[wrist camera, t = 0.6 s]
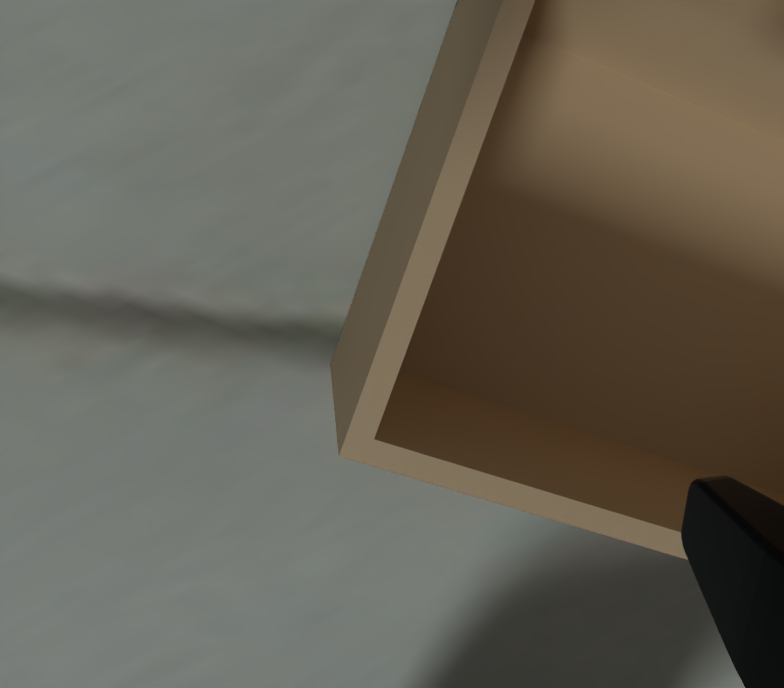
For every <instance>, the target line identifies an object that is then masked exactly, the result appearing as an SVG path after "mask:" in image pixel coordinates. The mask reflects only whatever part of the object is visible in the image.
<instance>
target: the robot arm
mask: <svg viewBox="0 0 784 688" xmlns="http://www.w3.org/2000/svg"><path fill="white" fill-rule="evenodd" d="M681 539H682V545H683V548H684V551H685V554H686V556H687V558H688V561H689V563H690V565H691V568H692V570H693V572H694V575H695V577H696V579H697V582H698V584H699V586H700V589H701V591H702V593H703V596H704V598H705V600H706V603H707V605H708V607H709V610H710V612H711V614H712V617H713V619H714V621H715V624H716V626H717V628H718V631H719V633H720V635H721V638H722V640H723V642H724V645H725V647H726V649H727V651H728V654H729V656H730V658H731V660H732V662H733V664H734V667H735V669H736V671H737V673H738V674H739V676H740V678H741V680H742V682H743V684H744V686H745V688H784V505H783V504H781V503H779V502H777V501H775V500H773V499H771V498H769V497H768V496H766V495H764V494H762V493H760V492H758V491H756V490H755V489H753V488H751V487H749V486H747V485H745V484H743V483H741V482H740V481H738V480H736V479H734V478H732V477H729V476H725V475H720V476H712V477H705V478H698V479H695V480H693V481H692V482H691V484H690V485H689V488H688V493H687V499H686V505H685V510H684V516H683V522H682V528H681Z"/></svg>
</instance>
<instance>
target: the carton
mask: <svg viewBox="0 0 784 688" xmlns="http://www.w3.org/2000/svg"><path fill="white" fill-rule="evenodd" d="M330 367H331V377H332V388H333V399H334V410H335V421H336V432H337V442H338V453H339V457H343V458H346V459H349V460H353V461H356V462H359V463H363V464H366V465H370V466H373V467H376V468H380V469H383V470H386V471H390V472H393V473H396V474H400V475H403V476H407V477H410V478H413V479H417V480H420V481H423V482H427V483H430V484H434V485H437V486H440V487H444V488H447V489H450V490H454V491H457V492H461V493H464V494H467V495H471V496H474V497H477V498H481V499H484V500H487V501H491V502H494V503H498V504H501V505H504V506H508V507H511V508H514V509H518V510H521V511H525V512H528V513H531V514H535V515H538V516H541V517H545V518H548V519H552V520H555V521H558V522H562V523H565V524H568V525H572V526H575V527H579V528H582V529H585V530H589V531H592V532H595V533H599V534H602V535H605V536H609V537H612V538H616V539H619V540H622V541H626V542H629V543H632V544H636V545H639V546H643V547H646V548H649V549H653V550H656V551H659V552H663V553H666V554H670V555H673V556H676V557H680V558H683V559H686V560H688V558H687V556H686V554H685V551H684V548H683V545H682V539H681V528H682V522H683V516H684V510H685V505H686V499H687V493H688V488H689V485H690V484H691V482H692V481H693V480H695V479H698V478H705V477H712V476H720V475H725V476H729V477H732V478H734V479H736V480H738V481H740V482H741V483H743V484H745V485H747V486H749V487H751V488H753V489H755V490H756V491H758V492H760V493H762V494H764V495H766V496H768V497H769V498H771V499H773V500H775V501H777V502H779V503H781V504H783V505H784V0H457V3H456V6H455V9H454V12H453V14H452V17H451V20H450V23H449V26H448V29H447V32H446V35H445V37H444V40H443V43H442V46H441V49H440V52H439V55H438V57H437V60H436V63H435V66H434V69H433V72H432V75H431V78H430V80H429V83H428V86H427V89H426V92H425V95H424V98H423V100H422V103H421V106H420V109H419V112H418V115H417V118H416V121H415V123H414V126H413V129H412V132H411V135H410V138H409V141H408V143H407V146H406V149H405V152H404V155H403V158H402V161H401V164H400V166H399V169H398V172H397V175H396V178H395V181H394V184H393V186H392V189H391V192H390V195H389V198H388V201H387V204H386V207H385V209H384V212H383V215H382V218H381V221H380V224H379V227H378V229H377V232H376V235H375V238H374V241H373V244H372V247H371V250H370V252H369V255H368V258H367V261H366V264H365V267H364V270H363V272H362V275H361V278H360V281H359V284H358V287H357V290H356V293H355V295H354V298H353V301H352V304H351V307H350V310H349V313H348V315H347V318H346V321H345V324H344V327H343V330H342V333H341V336H340V338H339V341H338V344H337V347H336V350H335V353H334V356H333V358H332V361H331V364H330Z"/></svg>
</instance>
